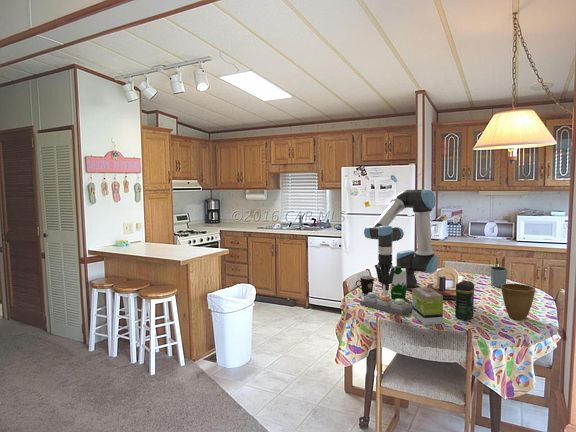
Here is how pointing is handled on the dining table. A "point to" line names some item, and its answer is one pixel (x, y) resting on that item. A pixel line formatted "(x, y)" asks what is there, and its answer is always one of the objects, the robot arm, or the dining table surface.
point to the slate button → (372, 295)
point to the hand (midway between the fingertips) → (385, 295)
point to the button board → (386, 305)
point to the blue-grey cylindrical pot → (498, 276)
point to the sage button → (399, 301)
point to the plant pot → (517, 300)
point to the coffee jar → (464, 300)
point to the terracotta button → (385, 298)
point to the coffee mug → (366, 284)
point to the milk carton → (399, 284)
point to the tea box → (427, 306)
